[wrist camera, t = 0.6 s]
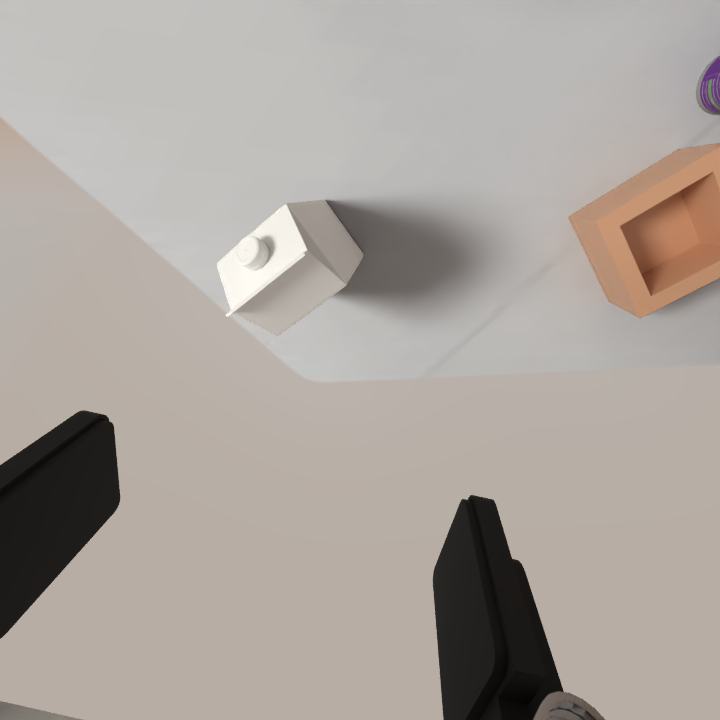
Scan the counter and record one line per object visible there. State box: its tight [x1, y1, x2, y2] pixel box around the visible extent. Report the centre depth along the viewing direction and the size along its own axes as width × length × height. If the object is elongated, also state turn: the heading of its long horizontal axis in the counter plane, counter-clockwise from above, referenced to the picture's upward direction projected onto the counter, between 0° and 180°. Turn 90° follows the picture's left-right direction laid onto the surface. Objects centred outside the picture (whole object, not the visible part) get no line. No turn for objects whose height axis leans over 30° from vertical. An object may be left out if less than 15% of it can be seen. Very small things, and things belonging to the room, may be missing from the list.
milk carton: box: [217, 200, 364, 336], centre depth 34 cm, size 7×7×19 cm
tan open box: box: [569, 143, 720, 318], centre depth 36 cm, size 10×10×6 cm
